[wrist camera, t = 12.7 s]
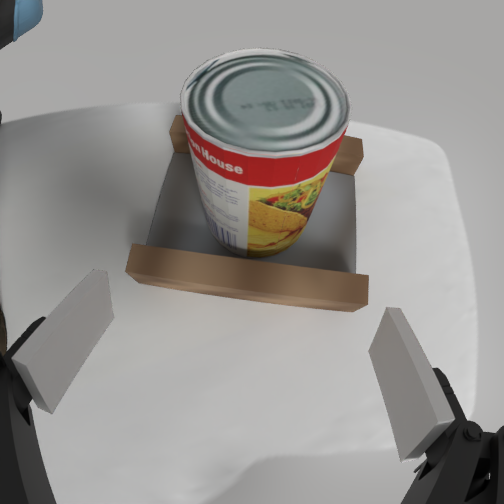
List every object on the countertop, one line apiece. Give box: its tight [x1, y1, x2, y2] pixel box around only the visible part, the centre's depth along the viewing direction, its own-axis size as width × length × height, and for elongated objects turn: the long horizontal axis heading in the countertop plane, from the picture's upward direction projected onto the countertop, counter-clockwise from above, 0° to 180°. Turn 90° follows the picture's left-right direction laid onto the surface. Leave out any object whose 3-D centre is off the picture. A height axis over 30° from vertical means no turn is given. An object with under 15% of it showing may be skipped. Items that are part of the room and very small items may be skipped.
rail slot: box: [125, 115, 369, 312], centre depth 23 cm, size 16×14×3 cm
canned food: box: [180, 48, 352, 258], centre depth 18 cm, size 8×8×12 cm
